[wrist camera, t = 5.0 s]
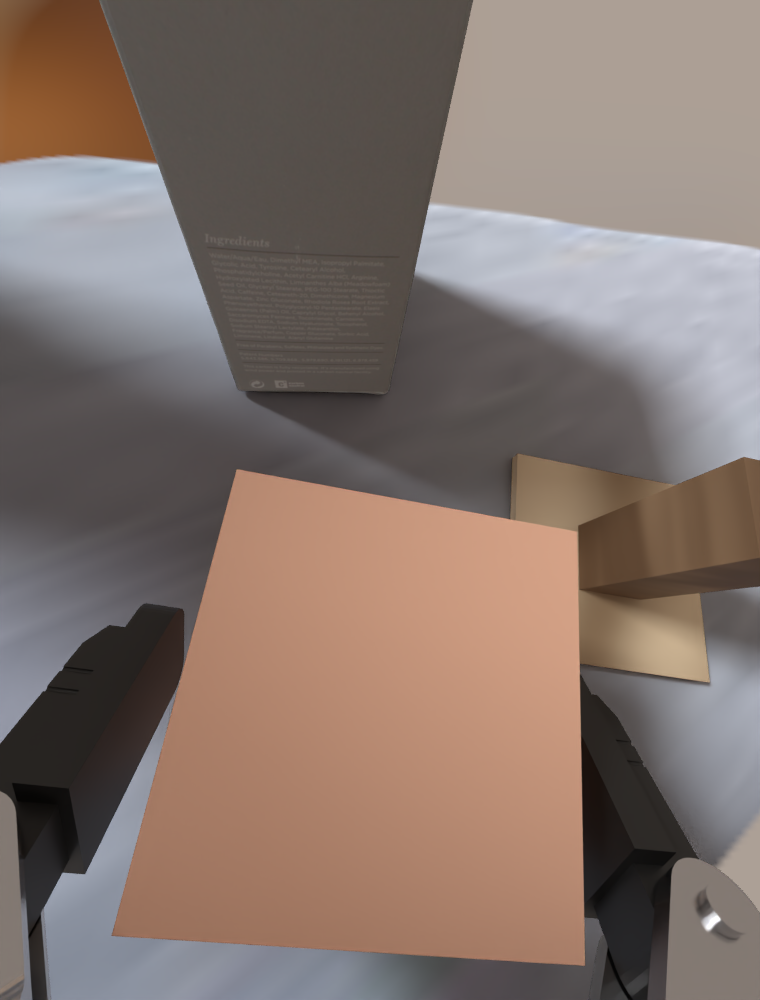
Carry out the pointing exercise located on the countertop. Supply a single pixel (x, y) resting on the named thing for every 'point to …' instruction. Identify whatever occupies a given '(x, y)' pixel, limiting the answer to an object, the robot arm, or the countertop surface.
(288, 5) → the skincare box
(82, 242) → the countertop surface
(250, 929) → the tan rectangular prism
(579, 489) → the wooden peg stand
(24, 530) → the countertop surface
